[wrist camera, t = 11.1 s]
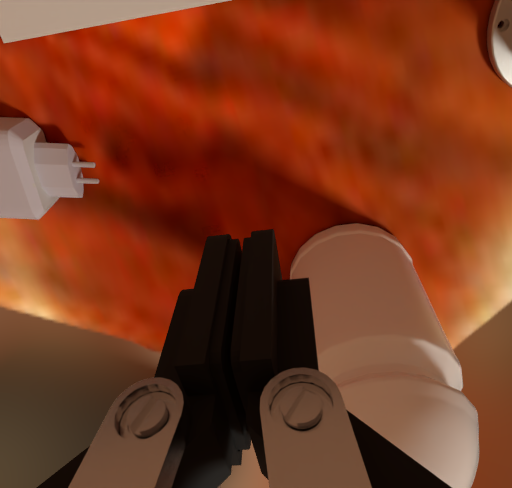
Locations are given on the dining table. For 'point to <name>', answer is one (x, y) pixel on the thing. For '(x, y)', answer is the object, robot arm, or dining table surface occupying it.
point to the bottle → (388, 348)
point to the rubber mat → (77, 14)
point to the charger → (35, 170)
